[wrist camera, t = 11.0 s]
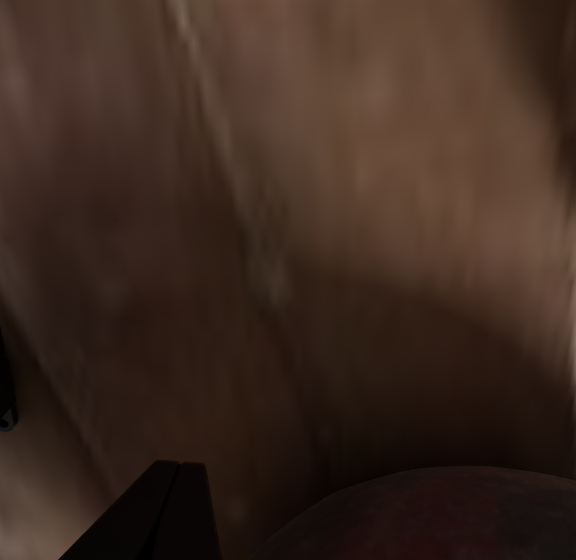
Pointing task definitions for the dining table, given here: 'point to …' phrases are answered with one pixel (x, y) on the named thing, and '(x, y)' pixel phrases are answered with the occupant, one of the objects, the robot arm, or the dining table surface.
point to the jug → (436, 518)
